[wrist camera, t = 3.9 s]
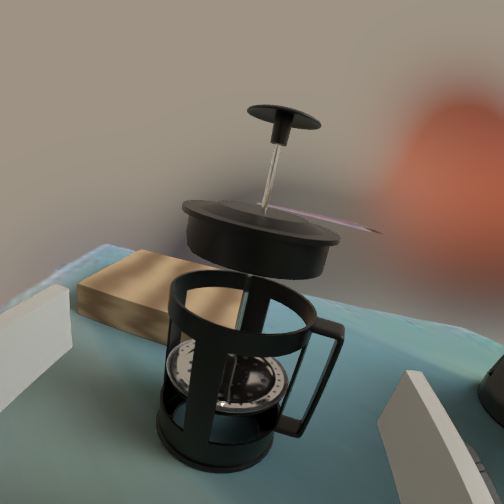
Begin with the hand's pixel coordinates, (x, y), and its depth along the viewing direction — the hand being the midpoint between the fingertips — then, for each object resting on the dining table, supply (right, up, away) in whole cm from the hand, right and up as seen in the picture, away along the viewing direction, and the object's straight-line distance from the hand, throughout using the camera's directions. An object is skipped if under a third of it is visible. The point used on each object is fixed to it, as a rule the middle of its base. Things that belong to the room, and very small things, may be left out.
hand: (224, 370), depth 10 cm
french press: (-2, -10, +11) cm, 15 cm away
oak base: (-9, -4, +30) cm, 31 cm away
